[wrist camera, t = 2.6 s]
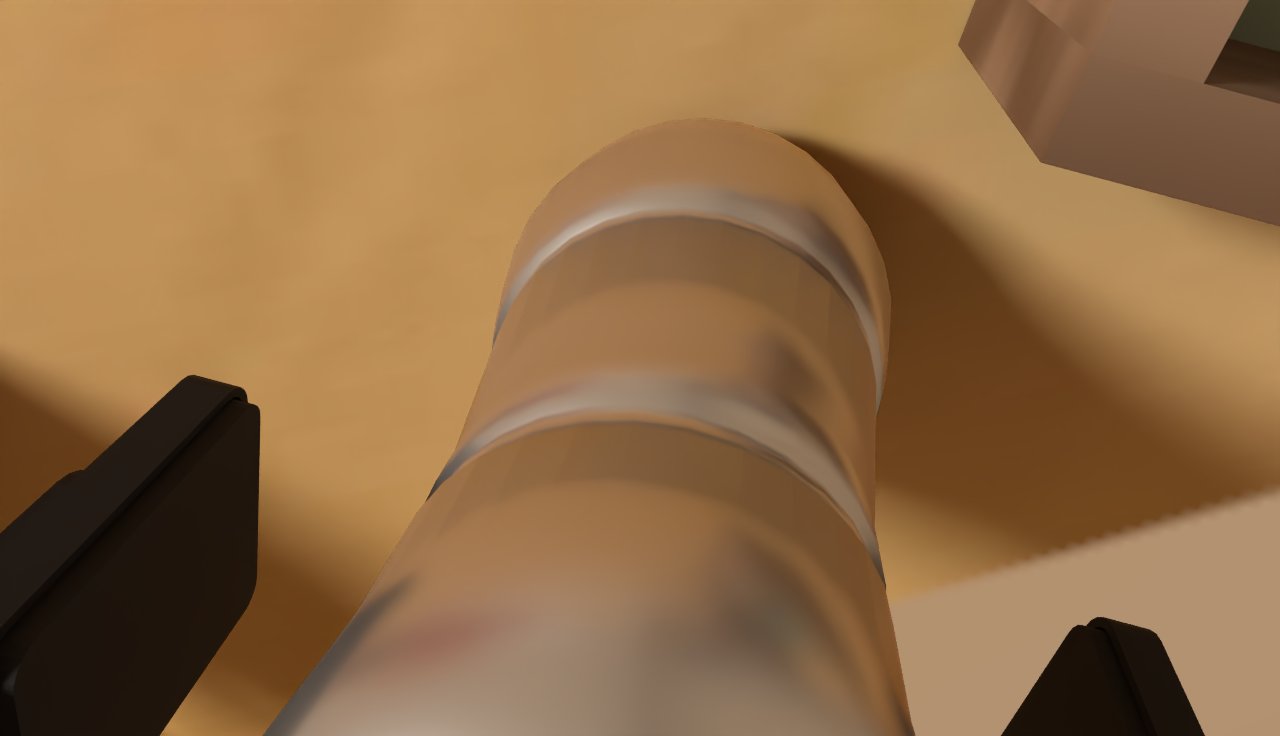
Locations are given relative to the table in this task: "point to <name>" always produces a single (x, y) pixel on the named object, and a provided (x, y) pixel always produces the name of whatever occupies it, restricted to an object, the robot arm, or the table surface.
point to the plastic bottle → (652, 474)
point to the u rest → (1143, 92)
